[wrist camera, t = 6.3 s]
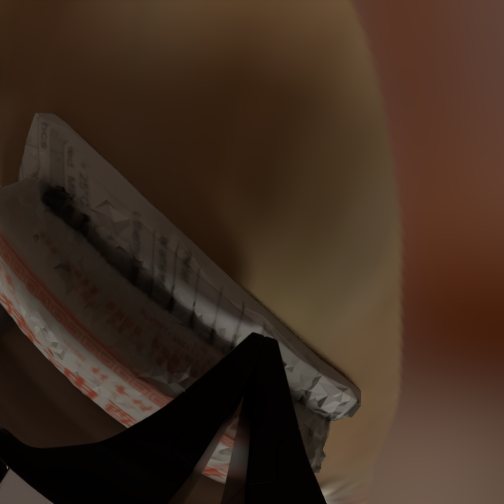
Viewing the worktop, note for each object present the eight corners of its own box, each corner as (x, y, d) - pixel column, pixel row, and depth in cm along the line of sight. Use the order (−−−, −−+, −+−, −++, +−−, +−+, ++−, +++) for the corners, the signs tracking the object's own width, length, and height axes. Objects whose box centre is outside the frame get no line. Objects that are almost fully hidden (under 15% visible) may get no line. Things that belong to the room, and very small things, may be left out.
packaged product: (369, 477, 8) (214, 497, 13) (369, 382, 12) (236, 435, 17) (-36, 126, 5) (-36, 290, 10) (62, 104, 9) (19, 249, 14)
